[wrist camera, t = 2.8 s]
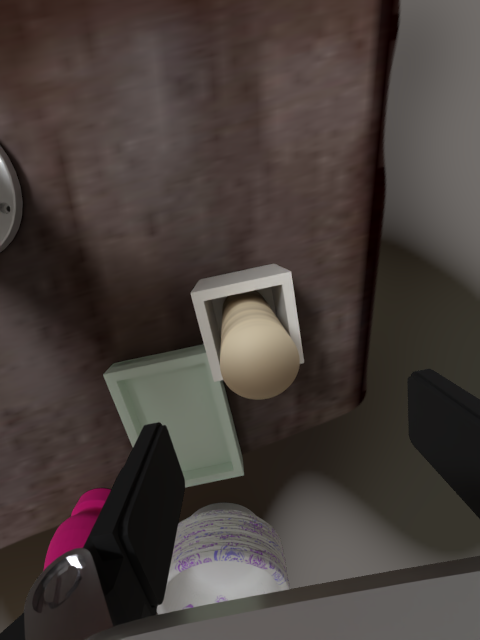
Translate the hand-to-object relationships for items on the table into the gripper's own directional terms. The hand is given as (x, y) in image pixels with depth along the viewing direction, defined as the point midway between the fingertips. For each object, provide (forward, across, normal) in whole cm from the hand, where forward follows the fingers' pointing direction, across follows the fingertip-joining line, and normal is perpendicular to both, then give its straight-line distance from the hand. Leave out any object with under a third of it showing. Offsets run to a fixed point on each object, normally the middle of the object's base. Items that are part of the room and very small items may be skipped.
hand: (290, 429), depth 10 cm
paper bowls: (+18, +10, +29) cm, 36 cm away
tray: (+18, +10, +10) cm, 23 cm away
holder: (+18, +1, -1) cm, 18 cm away
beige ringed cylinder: (+17, +1, 0) cm, 17 cm away
